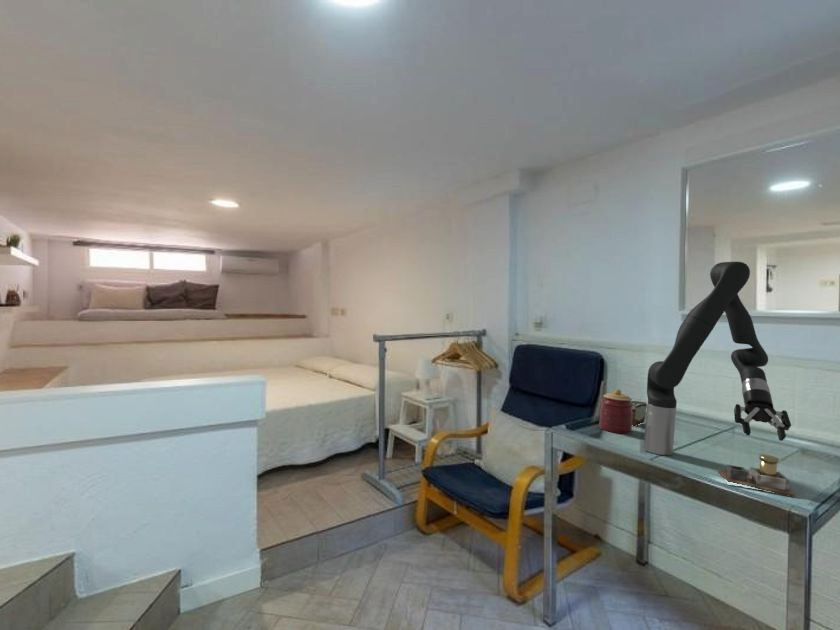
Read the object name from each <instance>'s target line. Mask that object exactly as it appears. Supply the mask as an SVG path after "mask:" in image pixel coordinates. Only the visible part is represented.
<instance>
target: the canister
mask: <svg viewBox="0 0 840 630" xmlns="http://www.w3.org/2000/svg"><path fill="white" fill-rule="evenodd" d="M631 401H633V399H632V397H630V396H629V395H627V394H624V393H622V390H620V389H618V388H616V389H615V390H614V392H607V393H605V394H603V398H602V399H601V400H600V402H601V407H599V408H600V411H599V412H600V413H599V415H600V416H599V423H598V426H599V428H600V429H602V430H603V431H607V432H611V433H615V434H624V435H625V434H630V433H632V429H633V426H632V414H633V412H632V407H633V406H634V405H633V404H632V403H631Z"/></svg>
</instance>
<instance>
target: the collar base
mask: <svg viewBox="0 0 840 630" xmlns="http://www.w3.org/2000/svg"><path fill="white" fill-rule="evenodd" d="M726 466H727V467H726V469H725V470H724V469H719V468H718V469H717V471H718V472H717V473H718V474H719V475H720V477H721V476H722V477H723V478H724V479H726V480H727V481H728V482H733V483H737V484H742V485H747V486H751V487H755V488H758V489H762V490H766V491H771V492H774V493H778V494H782V495H781V496H784V495H789V496H794V497H795V492H793V491H792V490H791V489H790V480H789V479H788V478H787V477H786V476H785V475H784V474H783V473H781V472H780V471H776V477H770V476H765V475H760V474H759V470H760V467H759V468H757V467H752V466H749V472H748V471H747V470H746V468H745V467H742V466H737V465H731V464H727V465H726ZM722 477H721V478H722ZM723 478H722V479H723ZM724 479H723V480H724ZM778 494H777V495H778ZM789 496H788V497H789Z"/></svg>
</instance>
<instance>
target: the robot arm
mask: <svg viewBox="0 0 840 630" xmlns="http://www.w3.org/2000/svg"><path fill="white" fill-rule="evenodd" d="M749 267H750V266H748V264H747V263H745V262H744V261H743V262H742V261H723V262H718V263H716V264H714V265H713V267H712V268H711V270H710V273H709V276H710V280H711V282H712V285H713V289H712V291H711V292H710V293H709V294H708V295H707V296H706V297H705V298H704V299H702V300H701V301H700V302H699V303H698V304H697V305H695V306H694V307H693V308H692V309H691V310H690V311H689V312H688V313H687V315H686V316H685V318H684V320H683V321H682V323H680V327H679V328H678V331H677V332H676V333H677V334H676V337H675V341H674V344H673V346H672V349H671V351H670V352H669V353H668V355H667V356H666V358H665V359H664V360H663V361H662V360H660V361H655V362H654V363H651V365H650V366H649V368H648V372H647V378H646V379H647V383H646V394H647V395H646V396H647V407H646V419H645V420H646V421H645V422H644V425H645V426H644V436H643V437H644V438H643V439H644V440H643V448H644V451H645V452H649V453H651V454H655V455H660V456H672V455H673V452H674V442H675V441H674V439H675V431H676V429H675V426H676V416H677V405H678V404H677V398H676V396H675V390H674V389H675V387H677V386H678V385H679V384H680V383H681V382H682V380H683V378H684V376H685V375H686V372H687V370H688V368H689V366H690V364H691V363H692V360H694V357H695V356H696V354H697V353H698V351H700V349H701V347H702V346H703V344H704V342H705V341H706V340H707V339H708V337H709V336H710V334H711V333H712V331H713V329H714V328H715V326H716V324H717V323H718V322H719V320H720V319H721V317H722V315H723V314H724V313H725V315H726V319H727V323H728V327H729V330H730V331H729V332H730V334H731V338H732V342H734V344H739V345H747V346H751V347H749V348H748V347H747V348H739V349H735V350H733V351H732V353H731V354H730V359H731V363H733V365H734V367H735V369H737V371H738V373H739V376H740V382H741V391H742V392H741V393H742V394H741V395H742V398H743V403H744V406H741V405H740V404H737V403H736V404H735V406H734V409H733V413H734V414H733V416H734V422H735V423H736V424H741V425H742V430H743V434H746V435H745V436H750V435H751V432H752V431H751V426H750V422H752V421H754V422H758V423H759V422H760V423H761V422H762V423H765V424H767V423H768V424H769V425H770V426H771V427H774V428H775V429H776V433H777V437H778V441H780V442H782V441H783V440H785V439H786V437H787V434H786V431H789V430H790V428H791V427H792V424H791V420H790V417H789V414H788V412H787V410H784V409H783V410H782V411H777V410H775V407H774V403H773V400H772V399H773V398H772V394H771V390H770V387H769V383H768V381H767V376H766V372H765V370H764V369H762V368H760V367H765V366H766V365H767V364H768V362H769V356H768V354H767V352H766V351H765V349H764V347H763V346H762V344H761V343H760V341H759V339H758V337H757V334H756V330H755V326H754V323H753V319H752V317H751V314H750V313H749V311H748V309H747V308H746V307H745V305H744V304H743V302H742V300H741V298H740V296H739V293H740V291H741V290H742V289H743V288H744V287H745V285H746V284H747V282H748V280H749V279H750V276H751V270H750V268H749ZM743 412H744V413H745V414H747V416H746V417H744V418H742V413H743ZM780 420H781V421H780Z"/></svg>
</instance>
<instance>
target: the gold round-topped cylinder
mask: <svg viewBox="0 0 840 630" xmlns="http://www.w3.org/2000/svg"><path fill="white" fill-rule="evenodd" d="M758 457H759V458H758V459H759V469H760V470H759V474H760V475H765V476H770V477H776V472H778V471H777V469H778V463H779V460H780V459H779V458H778V457H776V456H774V455H770V454H761V453H760V454H759V455H758Z"/></svg>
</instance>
